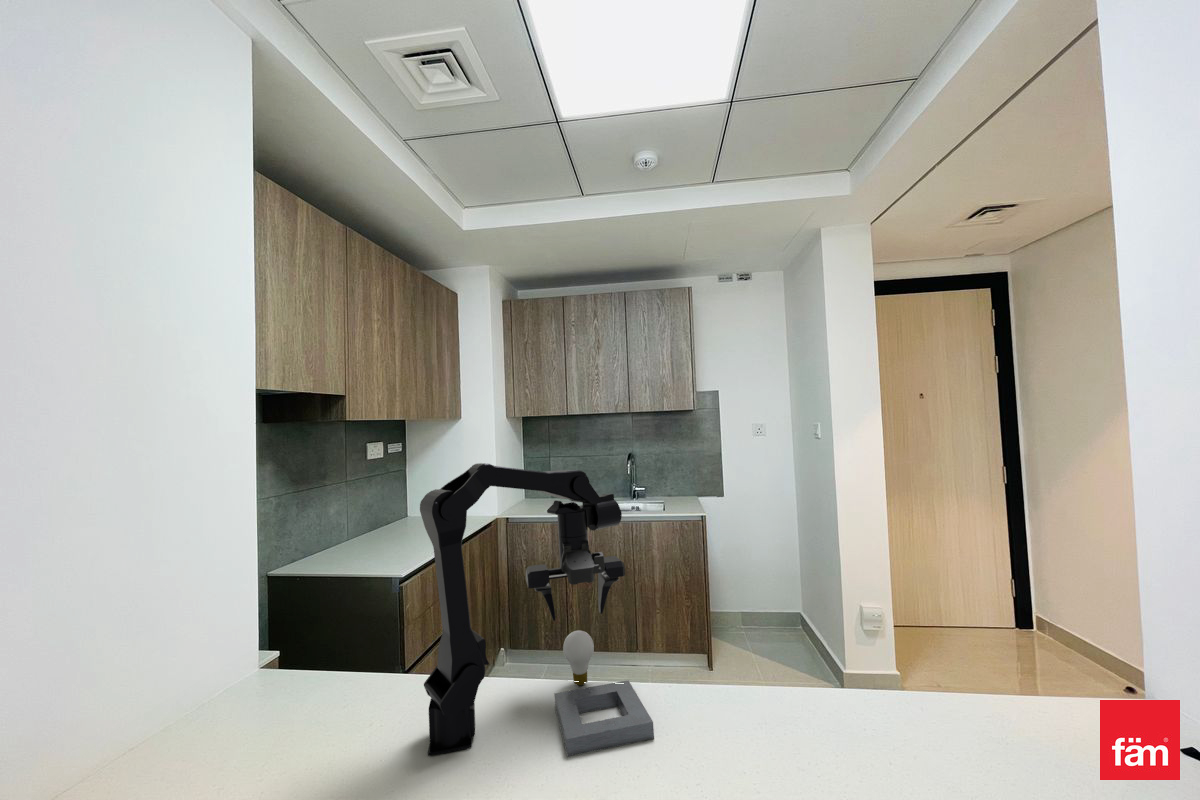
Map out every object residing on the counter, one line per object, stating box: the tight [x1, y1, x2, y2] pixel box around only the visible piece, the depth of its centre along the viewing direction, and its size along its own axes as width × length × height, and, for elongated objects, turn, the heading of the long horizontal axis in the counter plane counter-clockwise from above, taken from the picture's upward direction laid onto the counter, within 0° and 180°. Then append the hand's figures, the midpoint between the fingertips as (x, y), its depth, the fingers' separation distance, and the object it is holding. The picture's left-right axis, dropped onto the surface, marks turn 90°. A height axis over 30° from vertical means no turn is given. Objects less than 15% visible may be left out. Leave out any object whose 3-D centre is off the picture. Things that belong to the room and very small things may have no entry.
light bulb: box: [562, 630, 595, 687], centre depth 93 cm, size 6×6×10 cm
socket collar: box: [554, 679, 655, 757], centre depth 80 cm, size 14×14×2 cm
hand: (577, 616), depth 93 cm, fingers open, 9 cm apart
